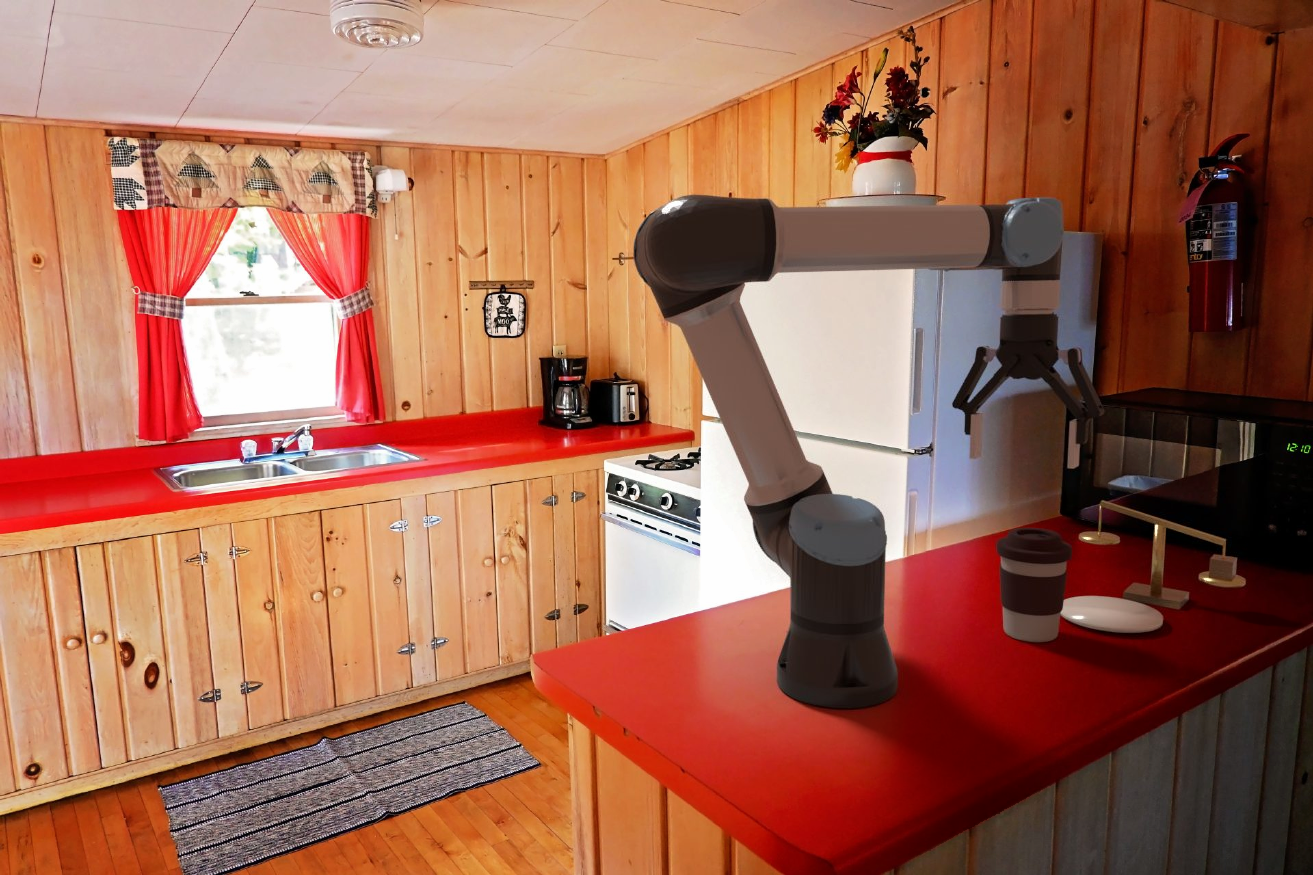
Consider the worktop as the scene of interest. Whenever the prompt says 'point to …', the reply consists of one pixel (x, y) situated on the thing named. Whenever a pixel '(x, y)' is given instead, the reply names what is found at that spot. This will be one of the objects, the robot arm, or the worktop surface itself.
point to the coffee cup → (1032, 582)
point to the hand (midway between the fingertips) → (1022, 462)
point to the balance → (1219, 569)
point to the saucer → (1111, 614)
